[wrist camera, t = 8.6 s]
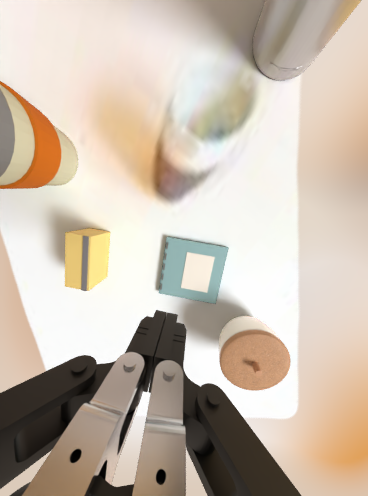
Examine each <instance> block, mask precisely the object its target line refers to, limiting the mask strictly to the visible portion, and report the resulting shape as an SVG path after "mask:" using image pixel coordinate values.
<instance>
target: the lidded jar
mask: <svg viewBox="0 0 368 496" xmlns="http://www.w3.org/2000/svg"><path fill="white" fill-rule="evenodd" d="M219 356H220V366H221V370H222V372H223V374H224V376H225V377H226V378H227V379H228V380H229V381H230V382H231V383H232V384H234V385H236V386H238V387H240V388H243V389H246V390H263V389H267V388H270V387H273V386H274V385H276V384H278V383H279V382H281V381H282V379H283V378H284V377H285V376H286V375H287V373H288V370H289V367H290V355H289V352H288V350H287V348H286V347H285V345H284V344H283V343H282V341H281V340H280V339H279V337H278V336H277V335H276V333H275V332H274V331H273V330H272V329H271V328H270V327H269V326H268V325H267V324H266V323H264V322H263V321H261V320H259V319H257V318H254V317H250V316H240V317H236V318H234V319H232V320H230V321H229V322H228V323H227V324H226V325H225V326H224V328H223V329H222V331H221V334H220V339H219Z"/></svg>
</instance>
